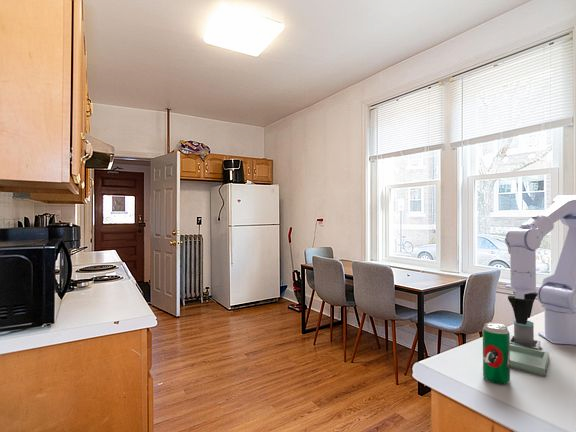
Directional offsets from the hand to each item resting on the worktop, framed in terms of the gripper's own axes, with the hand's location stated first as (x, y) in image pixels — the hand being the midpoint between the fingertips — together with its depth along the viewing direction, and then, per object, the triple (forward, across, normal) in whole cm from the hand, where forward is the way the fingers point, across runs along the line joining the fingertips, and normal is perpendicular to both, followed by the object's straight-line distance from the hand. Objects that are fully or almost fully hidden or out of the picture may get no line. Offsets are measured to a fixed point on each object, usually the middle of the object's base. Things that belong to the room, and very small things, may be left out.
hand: (523, 320), depth 90 cm
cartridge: (+7, 0, 0) cm, 7 cm away
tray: (+7, +12, 0) cm, 14 cm away
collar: (+7, 0, 0) cm, 7 cm away
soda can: (+8, +26, -2) cm, 28 cm away
